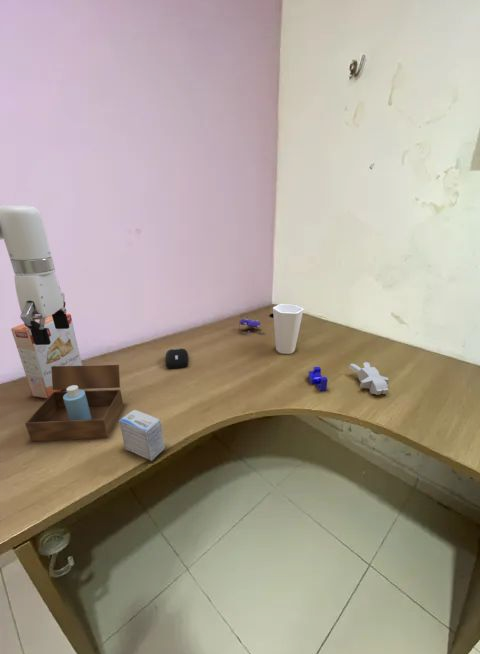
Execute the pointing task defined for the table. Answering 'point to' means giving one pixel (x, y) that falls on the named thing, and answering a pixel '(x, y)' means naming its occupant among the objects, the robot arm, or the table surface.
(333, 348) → the table surface
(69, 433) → the wooden box
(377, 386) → the bunny figurine
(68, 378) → the flap
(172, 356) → the computer mouse
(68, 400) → the bottle
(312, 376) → the cable holder
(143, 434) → the medicine box
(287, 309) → the cup
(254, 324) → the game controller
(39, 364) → the cracker box
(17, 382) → the table surface
